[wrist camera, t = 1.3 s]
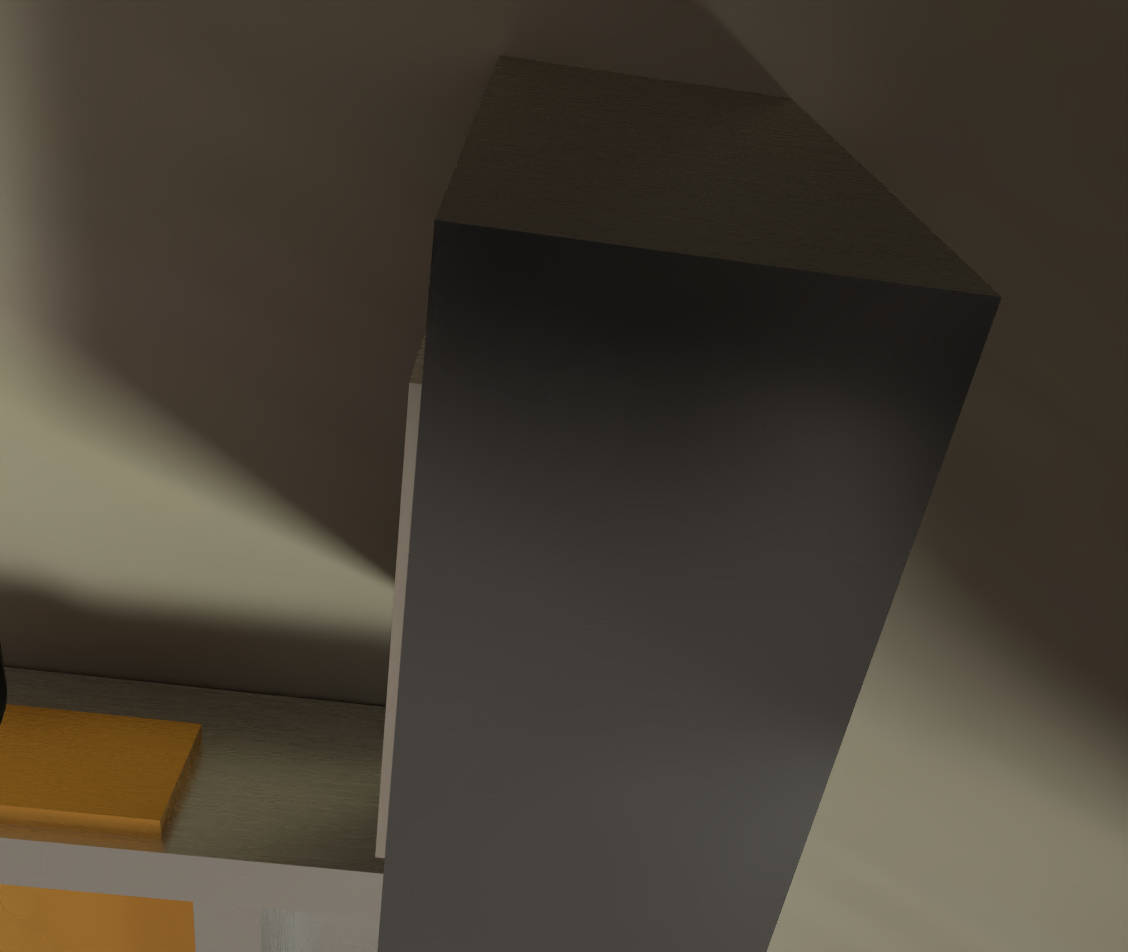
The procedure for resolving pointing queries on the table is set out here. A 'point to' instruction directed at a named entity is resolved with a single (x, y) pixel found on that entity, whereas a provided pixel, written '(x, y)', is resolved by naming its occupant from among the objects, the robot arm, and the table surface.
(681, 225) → the dark grey block
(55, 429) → the table surface
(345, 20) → the table surface
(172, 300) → the table surface
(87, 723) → the rack
